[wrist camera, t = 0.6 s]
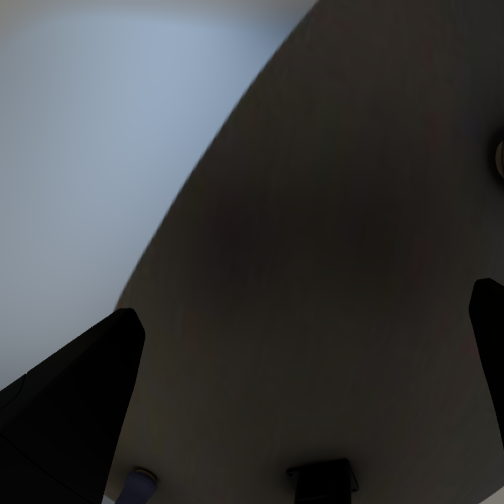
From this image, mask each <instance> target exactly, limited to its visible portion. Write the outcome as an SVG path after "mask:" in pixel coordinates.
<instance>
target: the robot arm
mask: <svg viewBox="0 0 504 504" xmlns="http://www.w3.org/2000/svg"><path fill="white" fill-rule="evenodd" d="M469 315H470V319H471V323H472V326H473V330H474V334H475V338H476V342H477V347H478V351H479V355H480V359H481V364H482V367H483V370H484V374H485V377H486V380H487V383H488V387H489V390H490V394H491V397H492V401H493V404H494V408H495V412H496V416H497V420H498V424H499V429H500V433H501V438H502V443H503V448H504V286H503V285H501V284H499V283H498V282H496V281H494V280H492V279H491V278H485V279H479V280H477V281H476V282H475V284H474V287H473V291H472V296H471V300H470V304H469ZM144 341H145V330H144V328H143V326H142V324H141V322H140V320H139V318H138V316H137V314H136V312H135V310H134V309H132V308H120V309H118V310H116V311H115V312H113V313H112V314H110V315H109V316H108V317H106V318H104V319H103V320H102V321H100V322H99V323H97V324H96V325H94V326H93V327H91V328H90V329H88V330H87V331H86V332H84V333H83V334H81V335H80V336H78V337H77V338H75V339H74V340H72V341H71V342H70V343H68V344H67V345H65V346H64V347H62V348H61V349H59V350H58V351H57V352H56V353H54V354H52V355H51V356H49V357H48V358H47V359H45V360H44V361H42V362H41V363H40V364H38V365H37V366H35V367H34V368H33V369H31V370H30V371H28V372H27V374H24V375H23V376H21V377H20V378H19V379H17V380H16V381H14V382H13V383H11V384H10V385H8V386H7V387H6V388H4V389H3V390H1V391H0V504H101V503H102V499H103V495H104V491H105V487H106V483H107V479H108V475H109V472H110V468H111V464H112V460H113V457H114V453H115V449H116V446H117V442H118V439H119V435H120V432H121V428H122V425H123V422H124V418H125V415H126V412H127V408H128V405H129V402H130V399H131V396H132V392H133V389H134V386H135V382H136V378H137V373H138V368H139V364H140V359H141V354H142V350H143V346H144ZM286 476H287V477H288V479H289V480H290V482H291V484H292V485H293V487H294V488H295V490H296V493H295V501H294V504H351V493H353V492H357V491H358V490H359V487H358V484H357V481H356V479H355V476H354V474H353V471H352V469H351V466H350V463H349V461H348V460H339V461H334V462H329V463H324V464H319V465H314V466H308V467H302V468H295V469H289V470H287V471H286Z"/></svg>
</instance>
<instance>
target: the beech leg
mask: <svg viewBox="0 0 504 504" xmlns="http://www.w3.org/2000/svg"><path fill="white" fill-rule="evenodd" d="M495 159H496V166H497V169H498V172H499V173H500V175H501V176H502V178H503V179H504V139H503V141H502V142H501V143H500V144H499V145H498V147H497V150H496V156H495Z"/></svg>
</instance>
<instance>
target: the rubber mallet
mask: <svg viewBox="0 0 504 504" xmlns="http://www.w3.org/2000/svg"><path fill="white" fill-rule="evenodd" d="M155 481H156V479H155V478H154V476H152V475H151V474H150V473H148V472H146V471H144V470H136V471H134V472H131V473H129V475H128V476H127V478H126V481H125V485H124V488H123V490H122V492H121V494H120V495H119V497H118V499H117V501H116V502H115V504H146V502H147V500H148V499H149V498H150V497H151V496H152V495H153V494H154V492H155V491H156V488H157V487H156V482H155Z"/></svg>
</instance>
